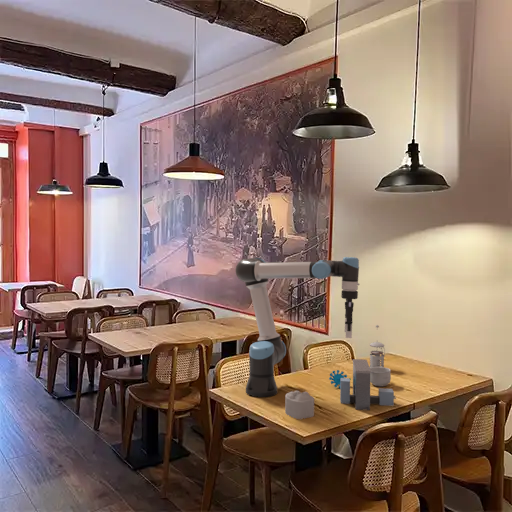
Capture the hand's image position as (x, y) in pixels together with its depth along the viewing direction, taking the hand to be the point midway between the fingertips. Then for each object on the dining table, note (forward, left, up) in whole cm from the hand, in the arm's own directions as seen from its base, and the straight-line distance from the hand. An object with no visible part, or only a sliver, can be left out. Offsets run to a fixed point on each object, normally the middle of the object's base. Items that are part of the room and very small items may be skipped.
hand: (347, 335), depth 232 cm
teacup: (+17, +19, -28) cm, 38 cm away
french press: (+19, +49, -28) cm, 60 cm away
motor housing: (+5, -11, -28) cm, 31 cm away
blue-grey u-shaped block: (+8, -11, -28) cm, 31 cm away
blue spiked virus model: (-3, +12, -29) cm, 31 cm away
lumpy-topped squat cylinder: (-22, -29, -29) cm, 46 cm away
